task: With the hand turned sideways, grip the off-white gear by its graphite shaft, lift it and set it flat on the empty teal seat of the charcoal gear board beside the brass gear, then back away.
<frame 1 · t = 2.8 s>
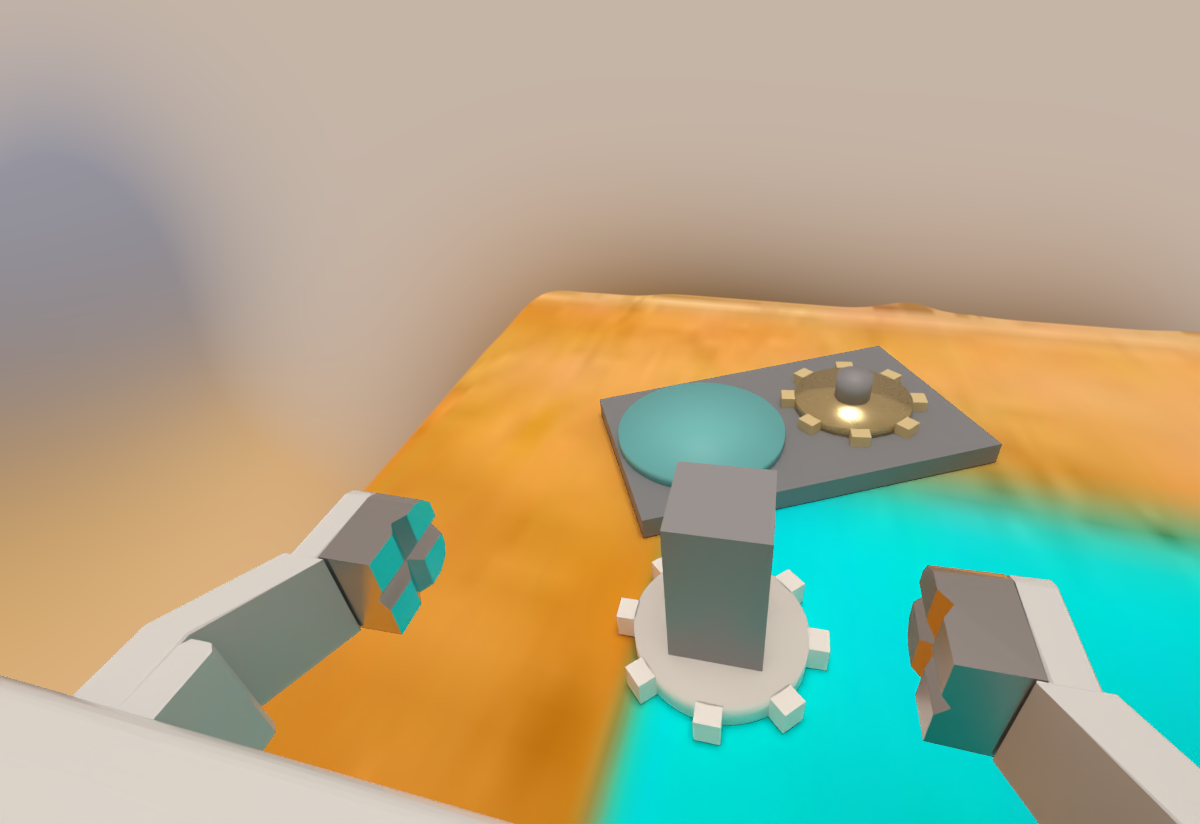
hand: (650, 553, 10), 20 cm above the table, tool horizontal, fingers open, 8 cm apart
gear board: (778, 435, 44), on the table
loose gear: (719, 641, 31), on the table
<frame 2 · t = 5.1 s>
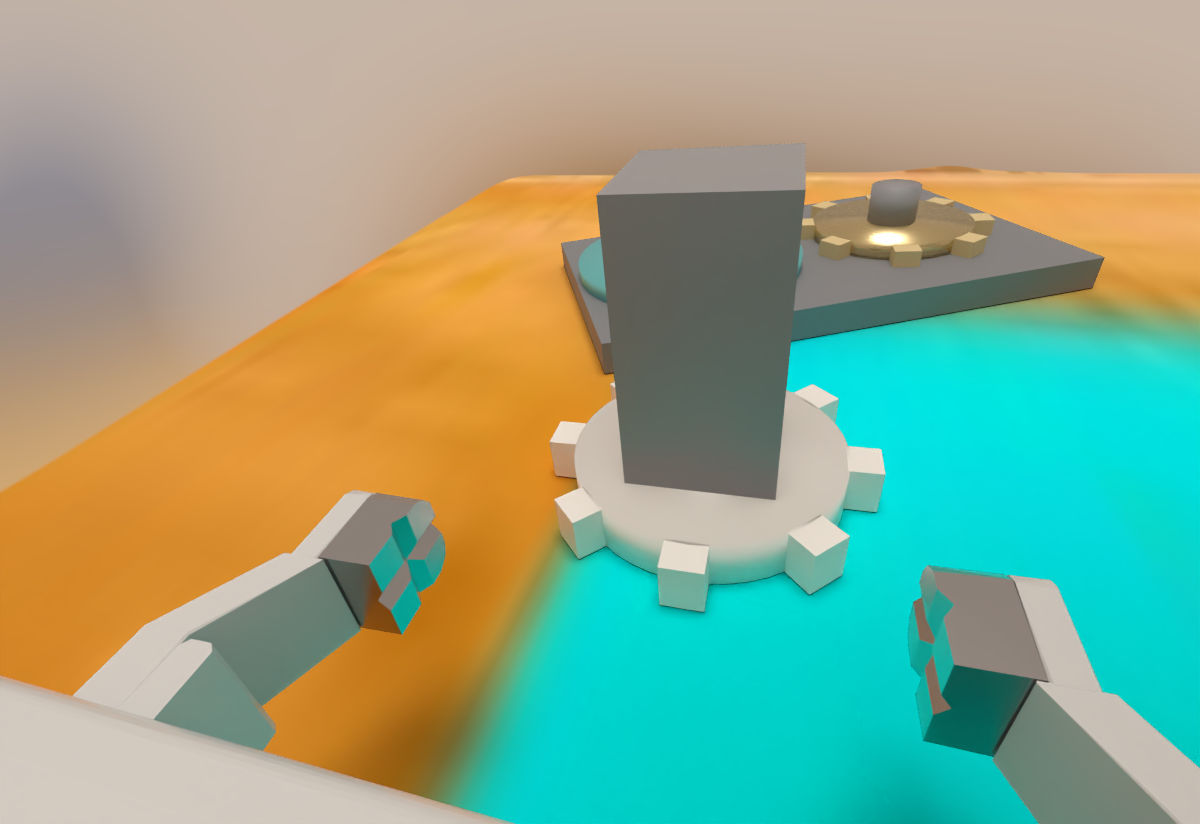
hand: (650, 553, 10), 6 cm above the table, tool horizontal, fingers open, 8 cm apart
gear board: (791, 275, 33), on the table
loose gear: (706, 480, 20), on the table
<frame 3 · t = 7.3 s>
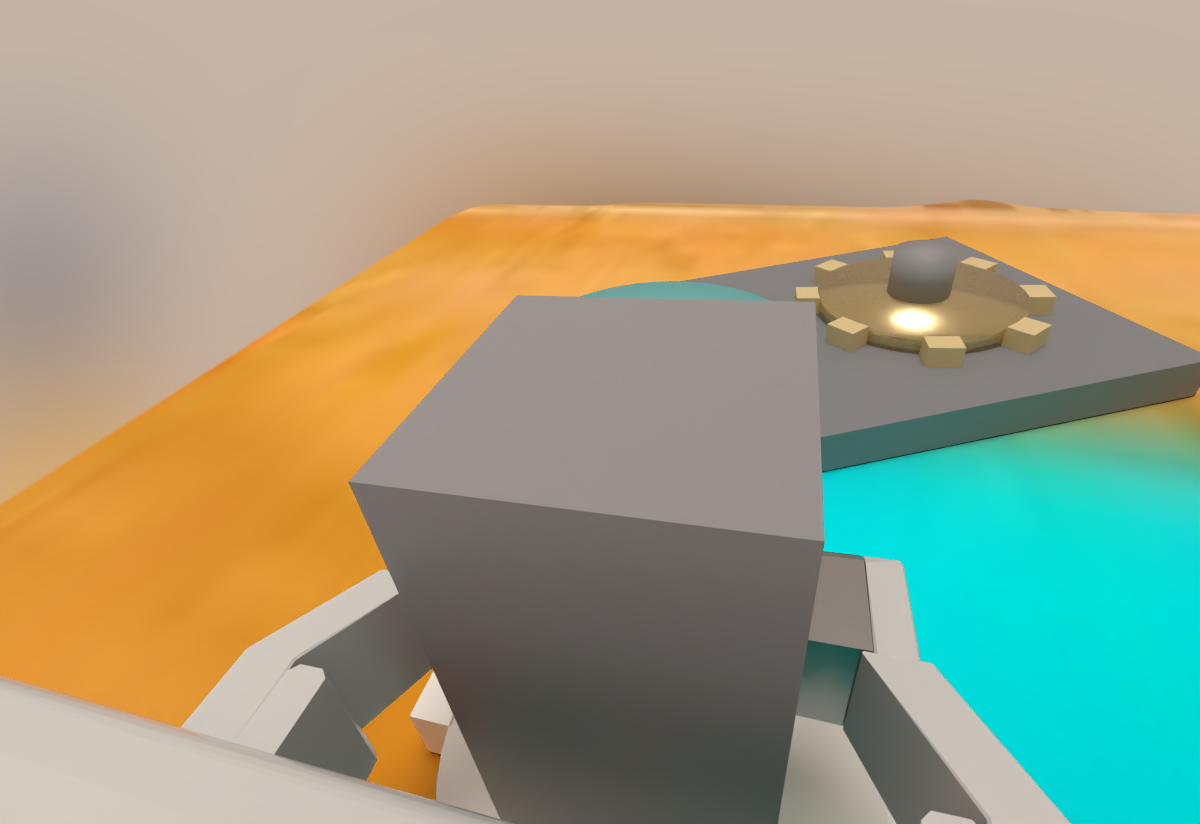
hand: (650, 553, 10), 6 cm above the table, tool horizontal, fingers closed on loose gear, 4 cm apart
gear board: (790, 361, 26), on the table
loose gear: (657, 778, 13), on the table, touching gripper
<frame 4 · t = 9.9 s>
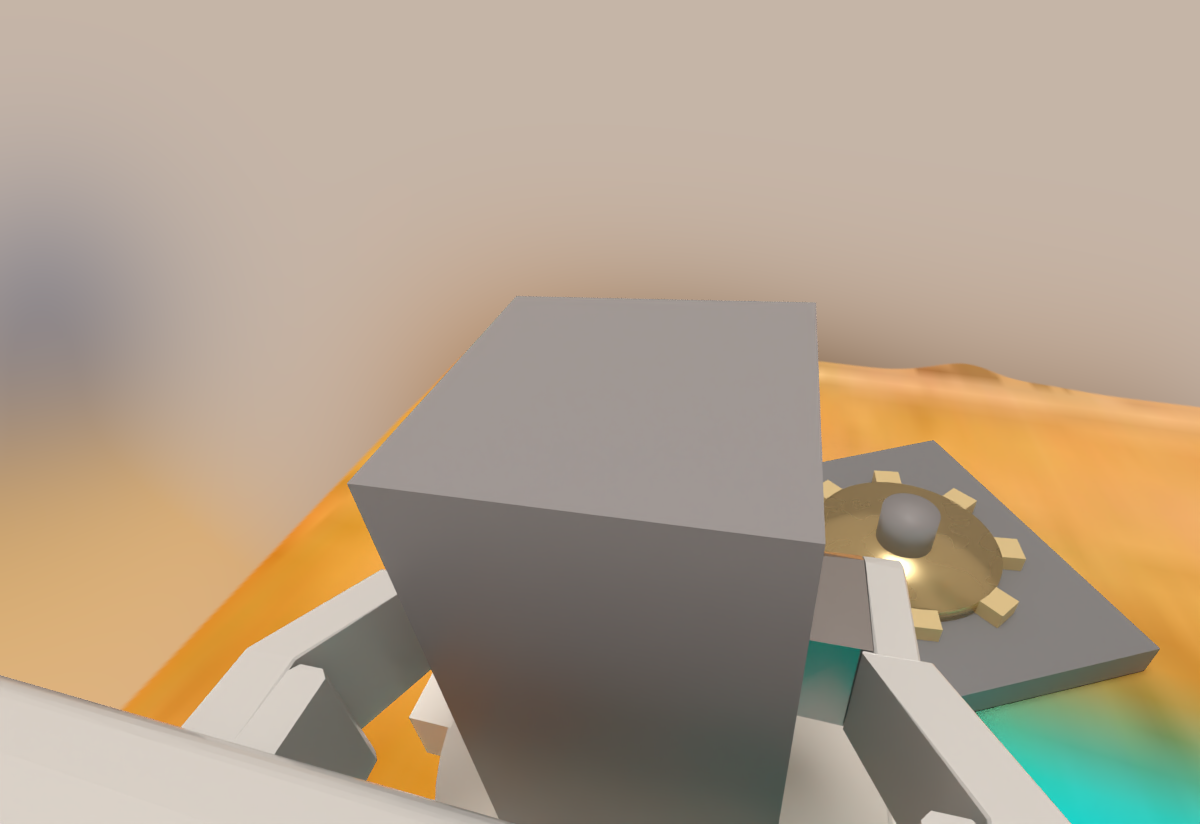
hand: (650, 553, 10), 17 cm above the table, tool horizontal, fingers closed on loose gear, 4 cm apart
gear board: (788, 594, 29), on the table
loose gear: (657, 780, 13), point 11 cm above the table, touching gripper
when the fingers open (9 cm above the table, at t = 12.7 s): loose gear stays where it is, resting on gear board.
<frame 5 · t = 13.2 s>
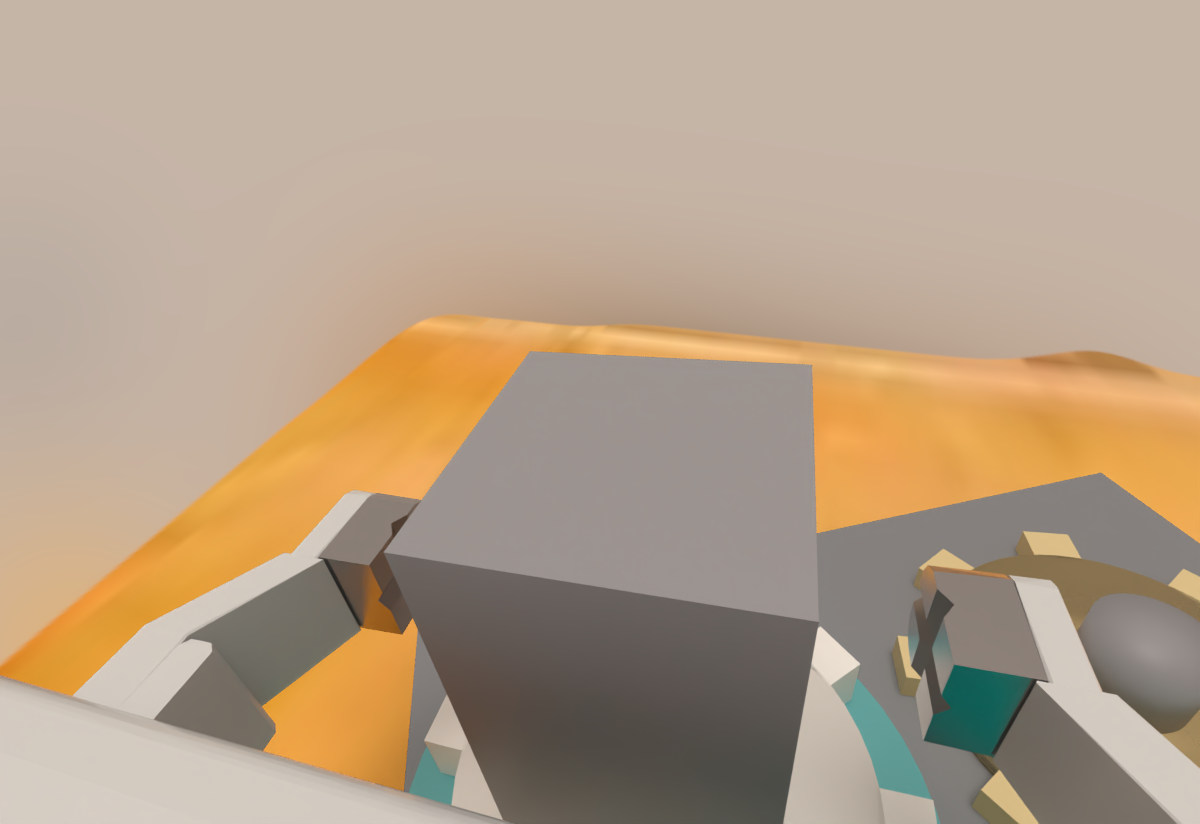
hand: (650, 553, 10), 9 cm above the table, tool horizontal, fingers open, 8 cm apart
gear board: (893, 782, 15), on the table
loose gear: (661, 800, 13), point 2 cm above the table, touching gear board
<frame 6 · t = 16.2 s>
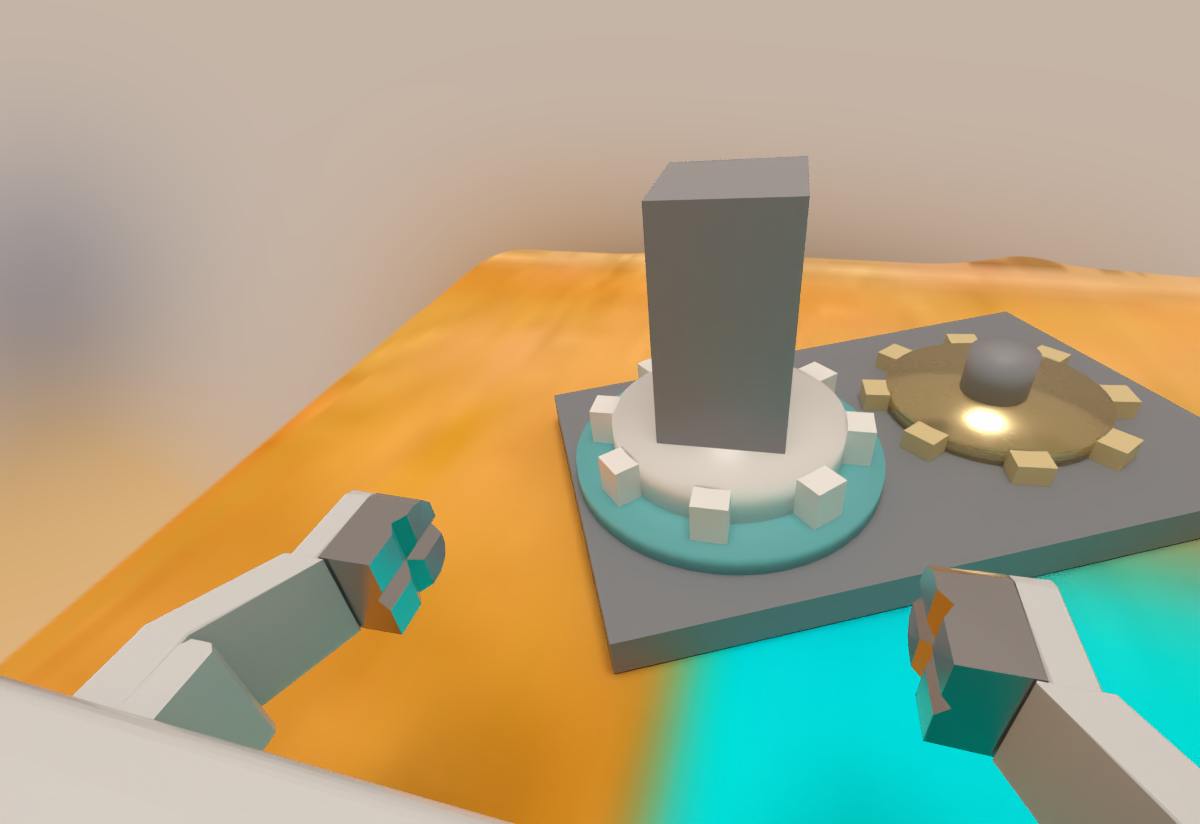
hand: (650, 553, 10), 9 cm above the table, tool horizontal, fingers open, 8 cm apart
gear board: (858, 459, 25), on the table
loose gear: (724, 443, 23), point 2 cm above the table, touching gear board
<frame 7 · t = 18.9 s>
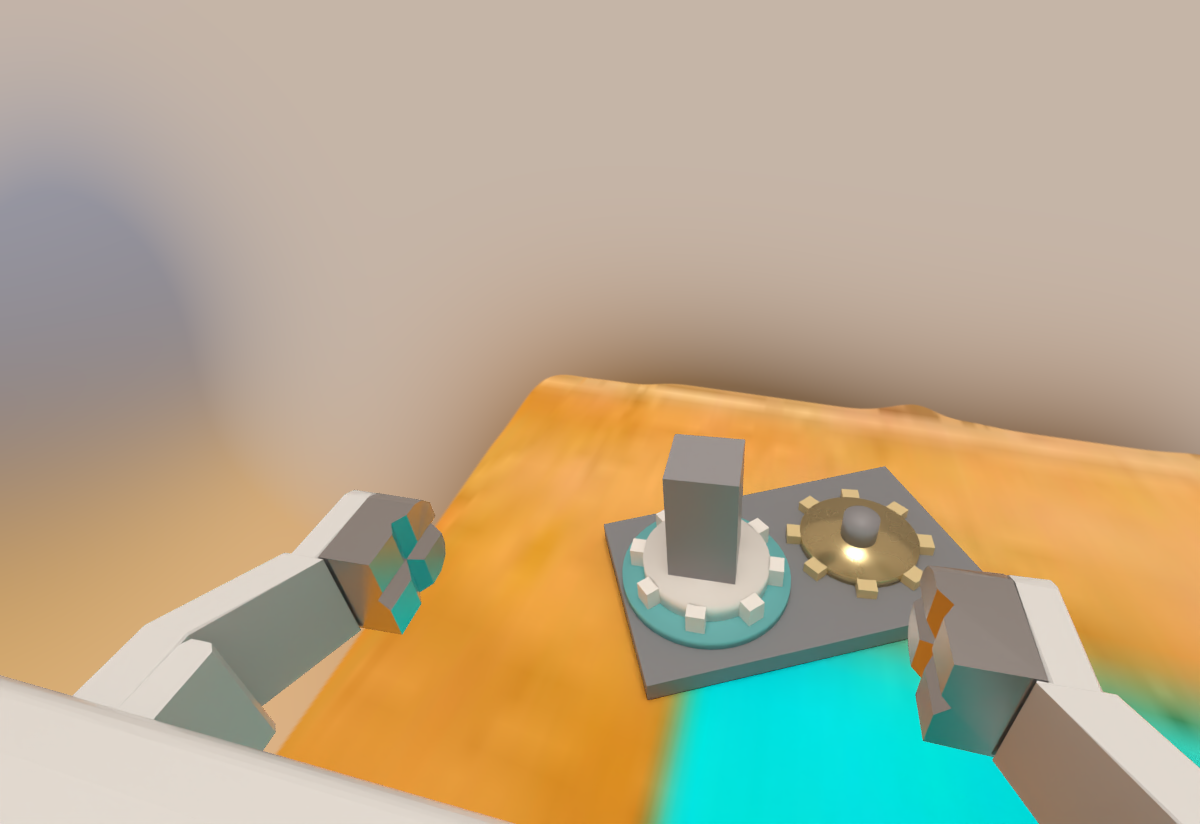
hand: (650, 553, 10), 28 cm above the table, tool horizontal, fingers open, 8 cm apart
gear board: (783, 572, 43), on the table
loose gear: (705, 568, 42), point 2 cm above the table, touching gear board
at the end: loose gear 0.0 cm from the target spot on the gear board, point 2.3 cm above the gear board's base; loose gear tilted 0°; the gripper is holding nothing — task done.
